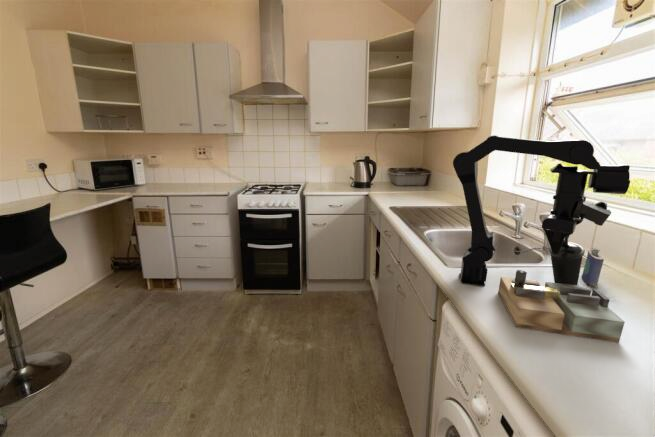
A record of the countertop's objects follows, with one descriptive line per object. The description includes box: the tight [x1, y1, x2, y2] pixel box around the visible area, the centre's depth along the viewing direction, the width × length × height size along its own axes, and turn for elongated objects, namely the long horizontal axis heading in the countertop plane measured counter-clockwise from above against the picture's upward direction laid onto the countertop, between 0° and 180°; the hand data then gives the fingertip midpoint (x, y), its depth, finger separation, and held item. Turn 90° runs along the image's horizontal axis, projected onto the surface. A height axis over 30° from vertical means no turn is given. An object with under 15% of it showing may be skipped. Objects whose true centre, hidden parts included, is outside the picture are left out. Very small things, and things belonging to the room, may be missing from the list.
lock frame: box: [497, 276, 626, 343], centre depth 77 cm, size 20×17×7 cm
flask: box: [581, 247, 605, 288], centre depth 95 cm, size 9×3×11 cm, turn 151°
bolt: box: [510, 269, 560, 299], centre depth 77 cm, size 10×2×5 cm, turn 75°
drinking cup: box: [548, 236, 585, 285], centre depth 86 cm, size 8×8×20 cm
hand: (559, 249), depth 83 cm, fingers open, 9 cm apart
